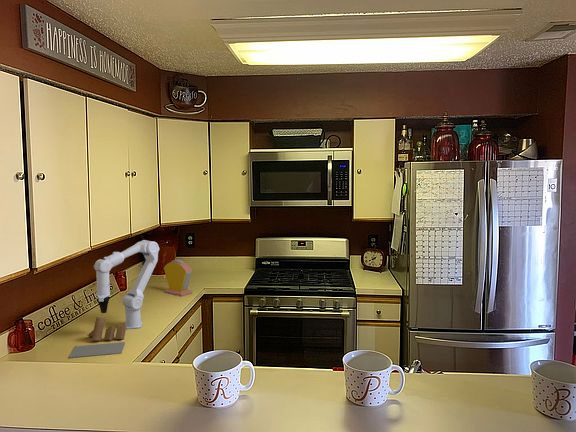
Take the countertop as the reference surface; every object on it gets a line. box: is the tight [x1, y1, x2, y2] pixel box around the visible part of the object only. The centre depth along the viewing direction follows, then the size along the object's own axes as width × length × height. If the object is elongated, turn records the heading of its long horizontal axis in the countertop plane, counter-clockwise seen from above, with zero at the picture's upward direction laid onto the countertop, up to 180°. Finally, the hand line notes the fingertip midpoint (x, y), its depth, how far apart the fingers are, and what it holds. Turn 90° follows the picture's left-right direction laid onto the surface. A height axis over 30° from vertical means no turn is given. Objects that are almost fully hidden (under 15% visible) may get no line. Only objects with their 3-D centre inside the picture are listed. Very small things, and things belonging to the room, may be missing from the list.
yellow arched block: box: [163, 259, 193, 297], centre depth 300 cm, size 22×9×22 cm, turn 53°
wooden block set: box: [86, 316, 127, 342], centre depth 218 cm, size 18×9×10 cm, turn 81°
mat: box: [68, 341, 126, 359], centre depth 204 cm, size 13×21×1 cm, turn 103°
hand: (103, 312), depth 224 cm, fingers closed
